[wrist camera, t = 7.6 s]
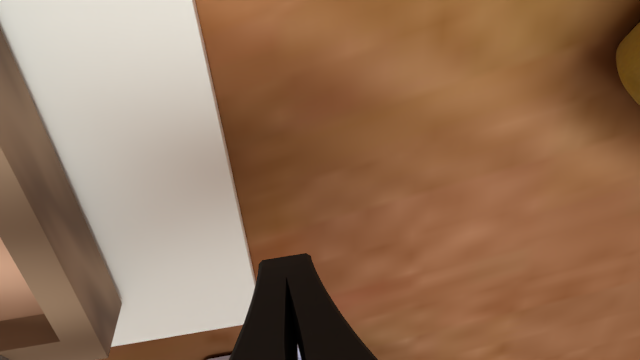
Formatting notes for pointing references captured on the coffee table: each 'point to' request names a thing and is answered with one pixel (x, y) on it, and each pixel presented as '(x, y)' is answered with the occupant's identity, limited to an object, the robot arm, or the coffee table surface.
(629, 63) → the flower pot
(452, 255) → the coffee table surface
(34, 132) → the wooden tray
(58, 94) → the wall board
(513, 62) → the coffee table surface
